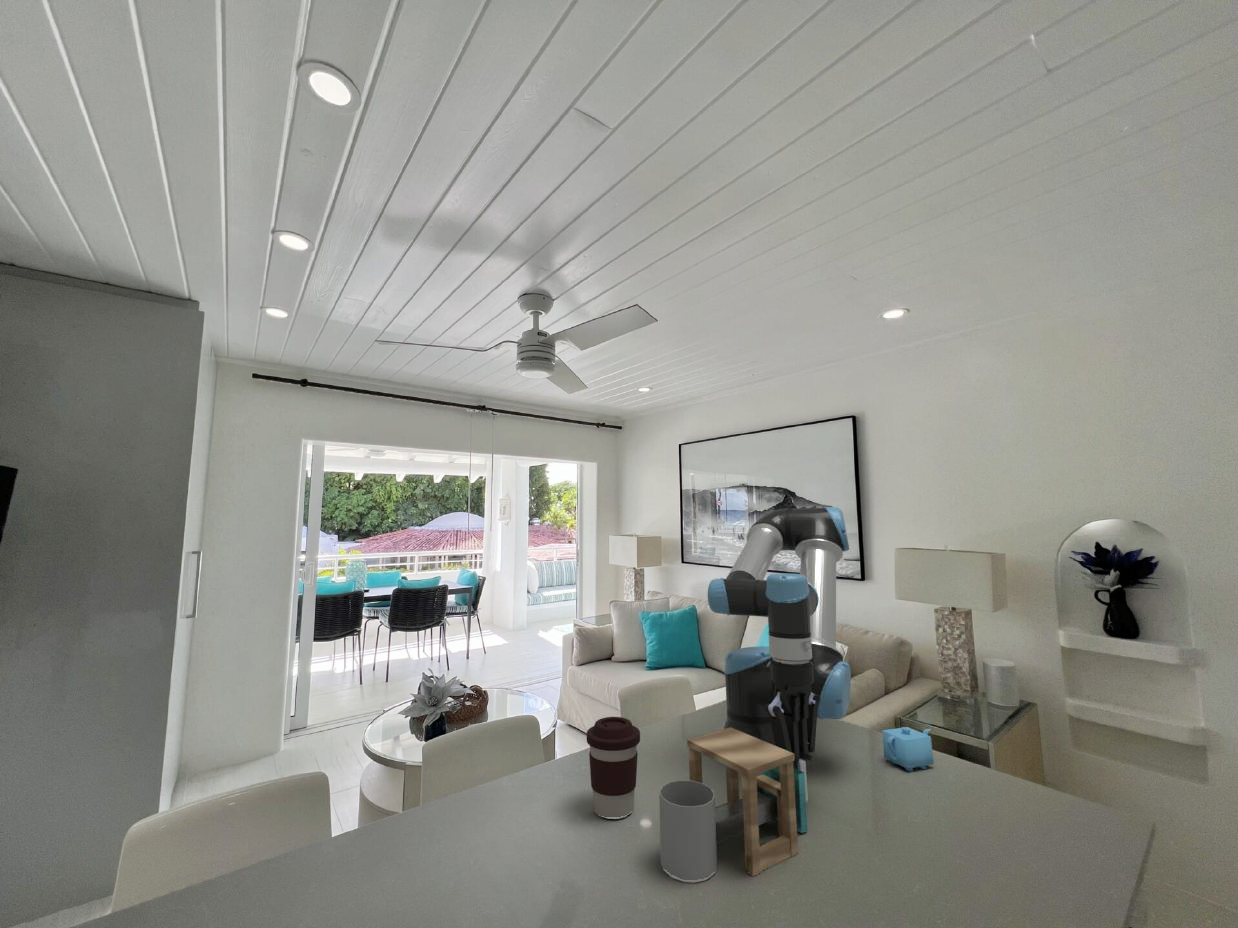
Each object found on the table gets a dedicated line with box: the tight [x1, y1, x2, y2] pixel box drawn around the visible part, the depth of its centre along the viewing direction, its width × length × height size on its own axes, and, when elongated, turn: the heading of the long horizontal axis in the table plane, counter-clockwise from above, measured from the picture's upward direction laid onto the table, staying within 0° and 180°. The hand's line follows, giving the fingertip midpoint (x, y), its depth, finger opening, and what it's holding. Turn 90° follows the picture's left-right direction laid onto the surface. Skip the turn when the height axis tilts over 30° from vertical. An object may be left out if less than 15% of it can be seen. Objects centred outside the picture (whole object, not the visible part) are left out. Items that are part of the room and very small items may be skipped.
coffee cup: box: [586, 716, 641, 817], centre depth 93 cm, size 10×10×15 cm
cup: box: [658, 779, 718, 880], centre depth 77 cm, size 8×8×10 cm
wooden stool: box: [686, 727, 799, 877], centre depth 84 cm, size 14×13×14 cm
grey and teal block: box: [715, 766, 808, 845], centre depth 84 cm, size 18×8×9 cm, turn 123°
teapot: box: [881, 726, 934, 772], centre depth 111 cm, size 12×6×8 cm, turn 107°
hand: (798, 798), depth 90 cm, fingers closed
